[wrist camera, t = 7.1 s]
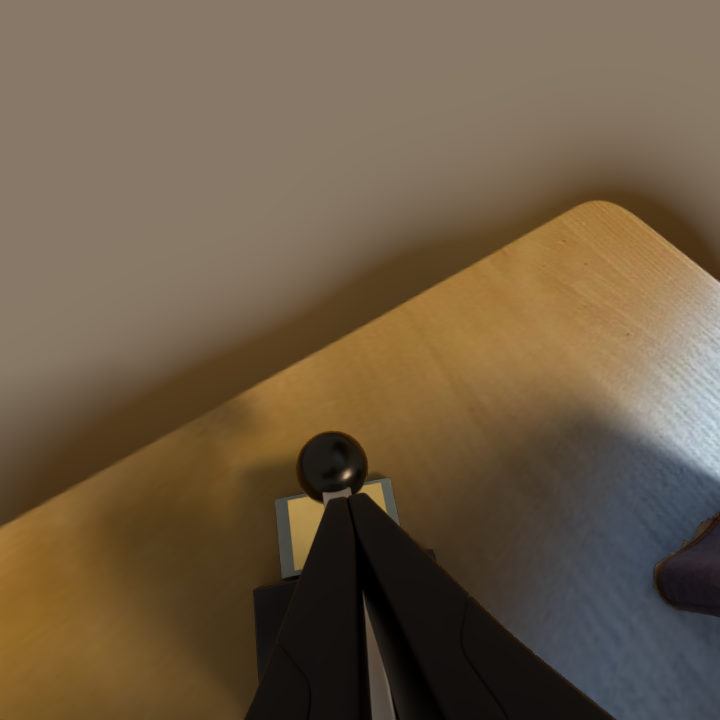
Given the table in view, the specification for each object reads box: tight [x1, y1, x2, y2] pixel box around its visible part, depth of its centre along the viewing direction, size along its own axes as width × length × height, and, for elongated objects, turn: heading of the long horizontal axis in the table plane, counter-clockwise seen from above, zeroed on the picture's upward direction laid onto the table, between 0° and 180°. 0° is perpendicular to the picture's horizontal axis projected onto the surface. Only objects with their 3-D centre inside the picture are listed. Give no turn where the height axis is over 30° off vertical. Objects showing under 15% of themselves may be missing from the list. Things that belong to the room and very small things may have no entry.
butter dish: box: [275, 477, 400, 579], centre depth 19 cm, size 4×6×3 cm, turn 101°
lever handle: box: [296, 431, 396, 720], centre depth 12 cm, size 13×3×3 cm, turn 11°
